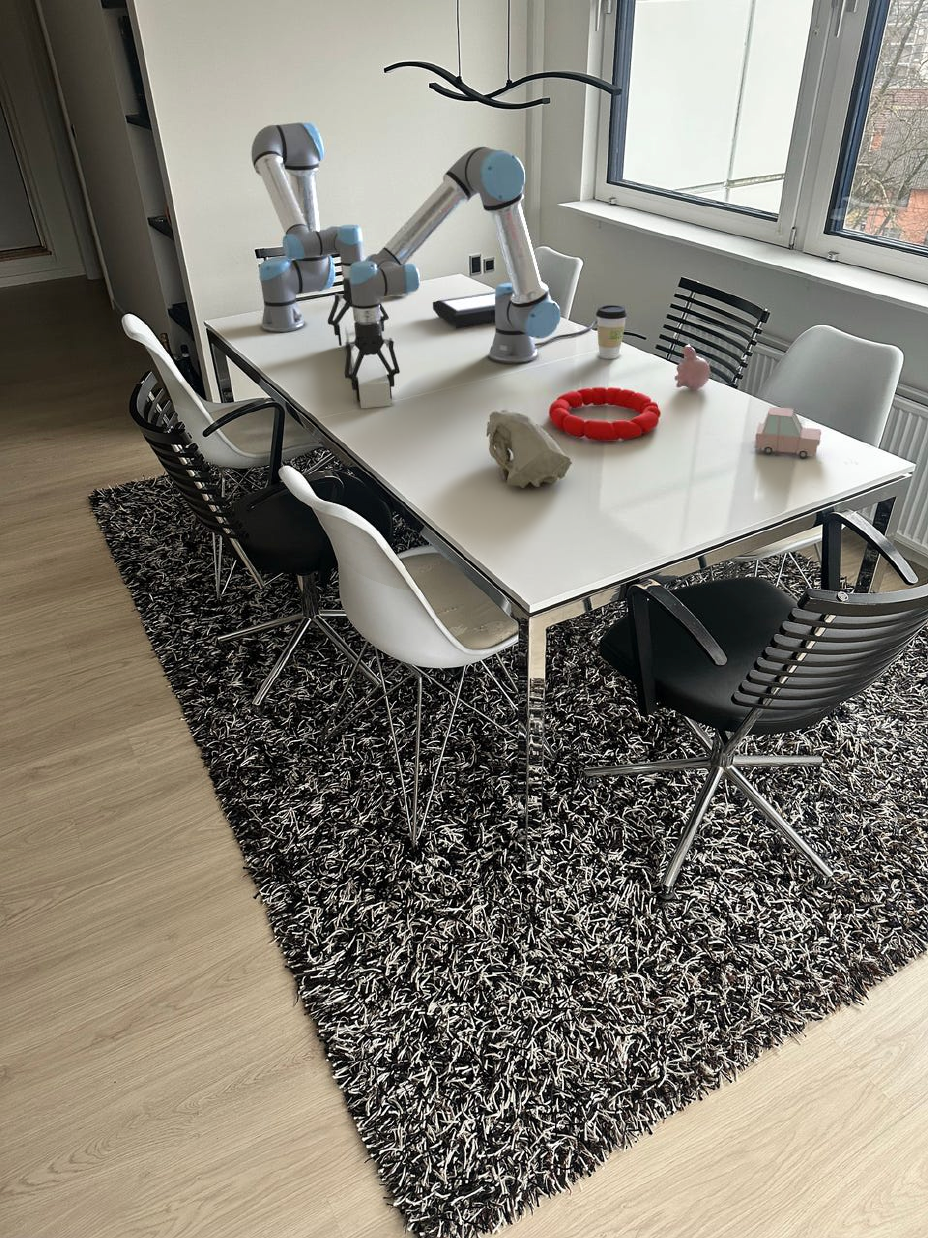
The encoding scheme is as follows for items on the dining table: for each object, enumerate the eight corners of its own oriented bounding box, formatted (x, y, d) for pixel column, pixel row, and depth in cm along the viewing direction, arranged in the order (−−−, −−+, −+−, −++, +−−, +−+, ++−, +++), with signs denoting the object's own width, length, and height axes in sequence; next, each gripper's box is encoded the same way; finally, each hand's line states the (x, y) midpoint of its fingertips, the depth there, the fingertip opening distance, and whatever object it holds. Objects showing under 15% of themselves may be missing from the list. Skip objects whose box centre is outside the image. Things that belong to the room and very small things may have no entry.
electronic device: (454, 313, 312) (432, 299, 327) (455, 331, 315) (433, 317, 330) (535, 300, 322) (510, 288, 337) (534, 318, 326) (510, 305, 341)
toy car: (816, 461, 219) (824, 423, 213) (752, 454, 224) (758, 416, 218) (817, 446, 226) (825, 408, 221) (755, 439, 231) (761, 402, 225)
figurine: (665, 387, 264) (669, 347, 257) (693, 380, 268) (698, 340, 261) (686, 396, 257) (690, 355, 250) (714, 388, 262) (720, 348, 255)
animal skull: (496, 517, 219) (521, 479, 201) (463, 429, 225) (484, 384, 207) (557, 503, 225) (586, 465, 206) (523, 417, 231) (549, 373, 212)
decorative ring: (589, 435, 224) (684, 402, 234) (527, 398, 247) (617, 369, 256) (589, 461, 229) (683, 427, 238) (529, 422, 251) (617, 393, 260)
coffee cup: (626, 360, 285) (629, 312, 276) (595, 360, 285) (598, 313, 277) (622, 350, 293) (625, 303, 284) (592, 351, 293) (594, 304, 285)
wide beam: (347, 345, 306) (344, 324, 302) (372, 343, 307) (370, 322, 303) (361, 408, 257) (359, 384, 253) (391, 405, 258) (389, 382, 254)
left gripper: (315, 282, 284) (324, 349, 296) (393, 277, 287) (398, 342, 299) (315, 277, 290) (323, 342, 302) (391, 271, 293) (395, 336, 305)
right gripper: (329, 327, 245) (338, 406, 258) (406, 321, 248) (411, 399, 261) (328, 320, 251) (337, 397, 264) (403, 314, 254) (408, 390, 267)
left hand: (360, 342), depth 301 cm, fingers open, 13 cm apart
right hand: (374, 398), depth 262 cm, fingers closed on wide beam, 9 cm apart
